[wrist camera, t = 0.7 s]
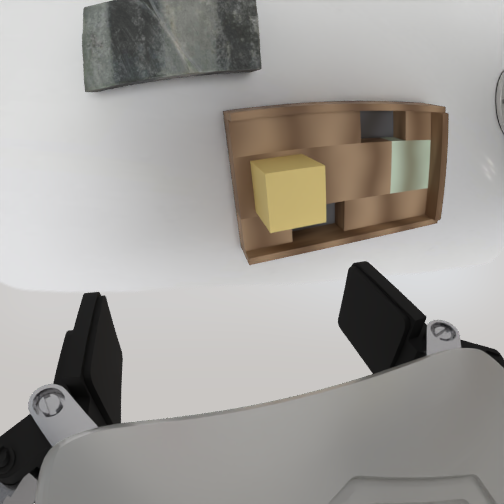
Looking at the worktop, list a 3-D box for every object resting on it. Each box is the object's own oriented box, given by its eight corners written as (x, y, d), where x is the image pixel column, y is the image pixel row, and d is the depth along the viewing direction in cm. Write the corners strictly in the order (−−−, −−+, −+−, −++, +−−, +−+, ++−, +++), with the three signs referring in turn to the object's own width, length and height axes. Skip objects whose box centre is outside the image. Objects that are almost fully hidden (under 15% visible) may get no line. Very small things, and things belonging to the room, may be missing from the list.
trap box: (422, 103, 31) (448, 107, 27) (418, 211, 38) (439, 224, 34) (223, 111, 28) (231, 113, 24) (241, 246, 35) (250, 267, 31)
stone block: (93, 8, 20) (79, -7, 16) (245, -8, 23) (259, -26, 18) (96, 93, 24) (81, 92, 20) (249, 74, 27) (264, 69, 22)
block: (302, 153, 29) (325, 165, 25) (304, 203, 31) (326, 222, 27) (250, 161, 28) (265, 173, 24) (255, 211, 31) (270, 233, 26)
